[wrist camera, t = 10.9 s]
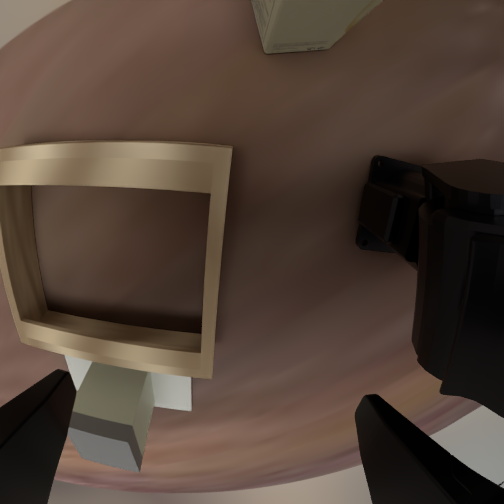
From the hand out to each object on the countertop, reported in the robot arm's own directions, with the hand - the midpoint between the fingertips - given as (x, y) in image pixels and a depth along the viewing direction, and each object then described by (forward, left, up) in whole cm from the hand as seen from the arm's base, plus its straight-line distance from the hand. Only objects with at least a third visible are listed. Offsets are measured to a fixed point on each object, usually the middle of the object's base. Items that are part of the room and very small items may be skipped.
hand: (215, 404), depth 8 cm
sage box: (+8, +13, -12) cm, 20 cm away
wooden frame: (+8, +1, -13) cm, 15 cm away
